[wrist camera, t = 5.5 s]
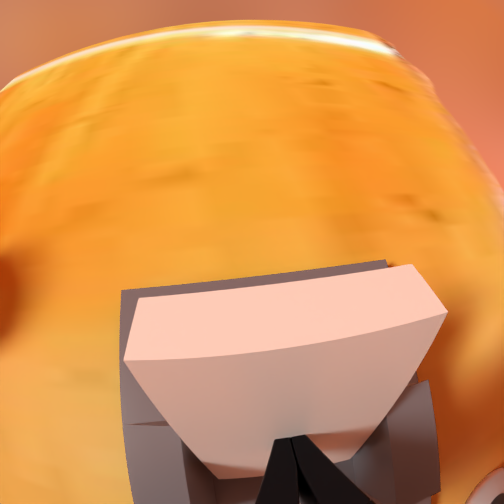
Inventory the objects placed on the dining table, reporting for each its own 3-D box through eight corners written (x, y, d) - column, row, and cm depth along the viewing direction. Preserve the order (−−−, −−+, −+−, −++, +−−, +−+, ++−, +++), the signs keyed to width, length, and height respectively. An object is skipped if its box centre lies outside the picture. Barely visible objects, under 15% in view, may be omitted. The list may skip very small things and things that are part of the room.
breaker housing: (423, 523, 9) (477, 549, 4) (157, 565, 8) (120, 609, 3) (379, 266, 18) (419, 210, 12) (127, 296, 17) (80, 247, 12)
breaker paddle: (350, 458, 10) (448, 311, 5) (218, 479, 10) (123, 360, 4) (342, 431, 12) (411, 263, 6) (216, 449, 11) (138, 297, 6)
